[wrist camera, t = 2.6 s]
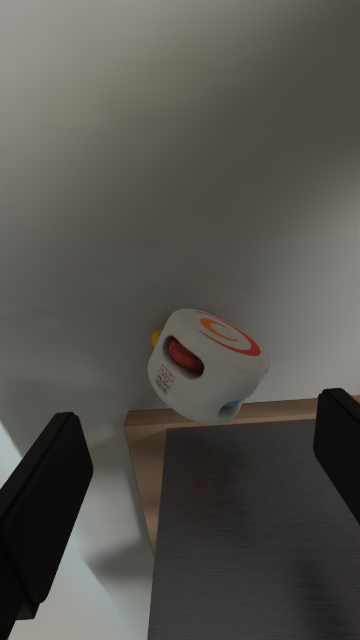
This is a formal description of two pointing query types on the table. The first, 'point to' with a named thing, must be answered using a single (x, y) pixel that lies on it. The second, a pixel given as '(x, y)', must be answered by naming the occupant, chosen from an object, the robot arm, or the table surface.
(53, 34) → the table surface
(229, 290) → the table surface
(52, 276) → the table surface
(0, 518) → the robot arm
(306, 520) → the bookend
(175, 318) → the roller toy
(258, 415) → the shelf
